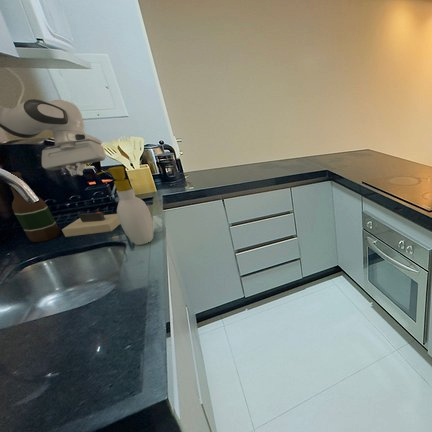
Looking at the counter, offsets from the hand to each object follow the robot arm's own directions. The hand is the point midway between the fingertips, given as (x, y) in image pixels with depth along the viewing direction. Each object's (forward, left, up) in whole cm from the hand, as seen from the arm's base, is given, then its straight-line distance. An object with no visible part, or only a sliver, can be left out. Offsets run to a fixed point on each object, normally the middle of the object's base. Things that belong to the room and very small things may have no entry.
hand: (77, 175), depth 114 cm
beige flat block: (+7, -10, -18) cm, 22 cm away
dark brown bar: (+7, -10, -15) cm, 20 cm away
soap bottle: (+32, -25, -18) cm, 44 cm away
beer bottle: (-5, -16, -18) cm, 25 cm away
